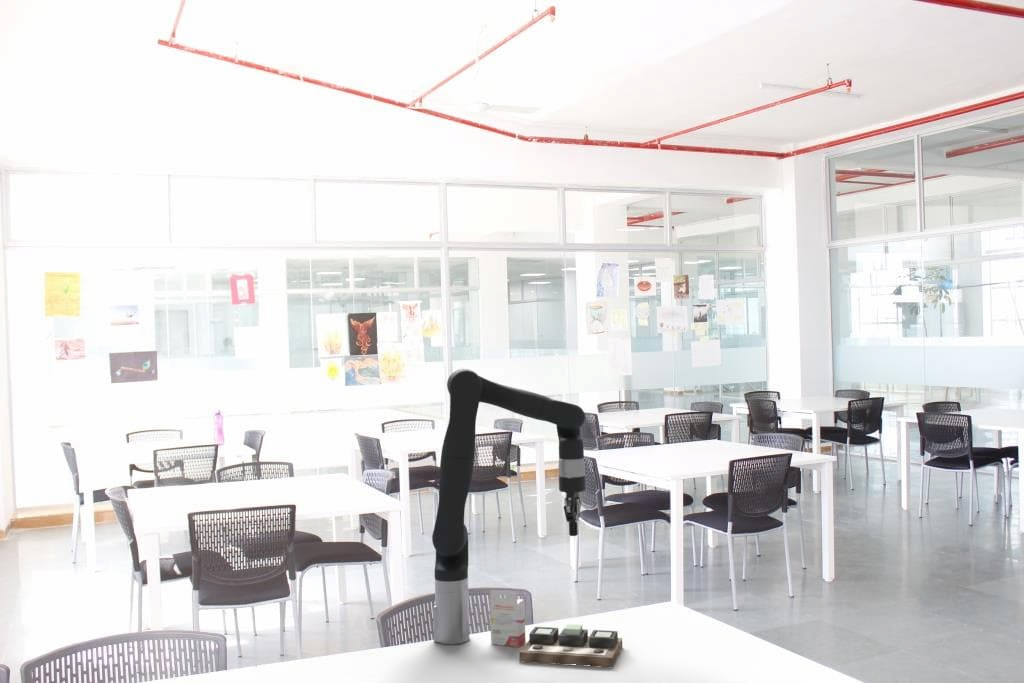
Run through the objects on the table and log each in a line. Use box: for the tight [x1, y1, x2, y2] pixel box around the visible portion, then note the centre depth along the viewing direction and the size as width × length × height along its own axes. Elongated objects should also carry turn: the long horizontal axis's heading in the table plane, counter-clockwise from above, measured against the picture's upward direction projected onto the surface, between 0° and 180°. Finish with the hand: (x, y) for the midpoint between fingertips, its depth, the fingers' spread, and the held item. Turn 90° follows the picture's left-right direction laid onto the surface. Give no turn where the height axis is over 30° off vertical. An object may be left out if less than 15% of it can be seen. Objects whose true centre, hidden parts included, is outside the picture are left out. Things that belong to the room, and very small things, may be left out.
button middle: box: [563, 623, 583, 636], centre depth 246 cm, size 4×4×2 cm
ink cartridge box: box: [489, 590, 527, 648], centre depth 255 cm, size 9×5×15 cm, turn 68°
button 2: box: [594, 632, 612, 638], centre depth 244 cm, size 4×4×2 cm
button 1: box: [535, 629, 553, 634], centre depth 248 cm, size 4×4×2 cm
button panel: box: [519, 626, 623, 668], centre depth 244 cm, size 24×16×5 cm, turn 74°
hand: (573, 535), depth 264 cm, fingers closed
